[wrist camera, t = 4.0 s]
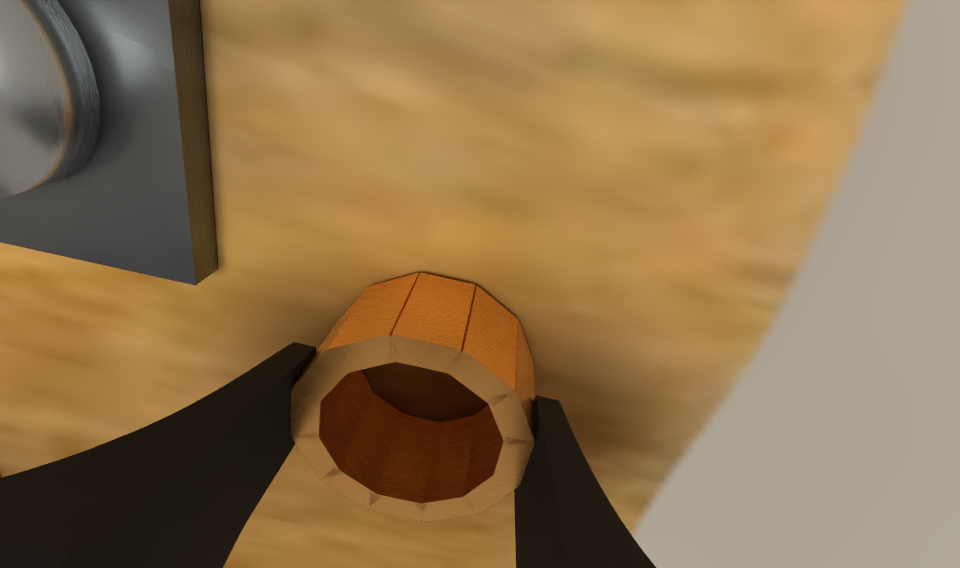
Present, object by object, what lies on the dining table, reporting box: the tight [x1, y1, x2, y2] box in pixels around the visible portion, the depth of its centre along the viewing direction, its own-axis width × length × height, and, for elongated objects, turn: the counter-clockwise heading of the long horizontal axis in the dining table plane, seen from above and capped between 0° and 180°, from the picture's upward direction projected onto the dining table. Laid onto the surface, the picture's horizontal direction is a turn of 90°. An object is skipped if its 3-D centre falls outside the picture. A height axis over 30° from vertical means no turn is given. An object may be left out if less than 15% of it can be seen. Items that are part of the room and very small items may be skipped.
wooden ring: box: [291, 273, 535, 522], centre depth 13 cm, size 6×6×3 cm
